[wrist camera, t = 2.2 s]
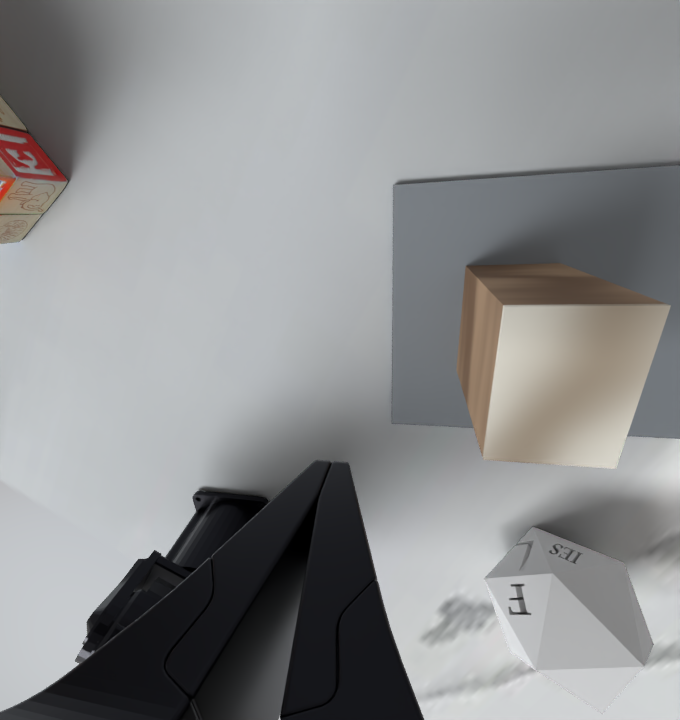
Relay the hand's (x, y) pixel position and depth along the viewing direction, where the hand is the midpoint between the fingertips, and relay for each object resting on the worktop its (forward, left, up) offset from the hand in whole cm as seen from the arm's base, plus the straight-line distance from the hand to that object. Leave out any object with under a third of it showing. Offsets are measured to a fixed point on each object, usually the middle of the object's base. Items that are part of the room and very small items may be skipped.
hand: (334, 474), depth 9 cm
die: (+12, -18, -13) cm, 25 cm away
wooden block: (+7, 0, -13) cm, 15 cm away
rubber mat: (+9, 0, -13) cm, 16 cm away
